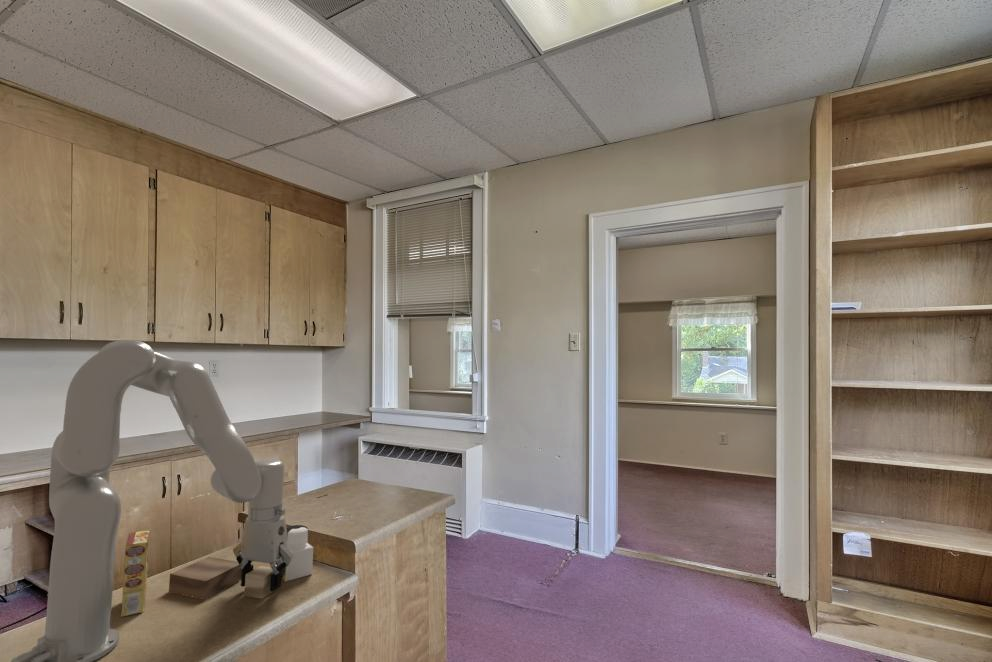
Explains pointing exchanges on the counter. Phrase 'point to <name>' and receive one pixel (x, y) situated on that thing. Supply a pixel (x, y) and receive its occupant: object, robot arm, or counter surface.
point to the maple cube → (258, 582)
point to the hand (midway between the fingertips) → (261, 586)
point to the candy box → (135, 573)
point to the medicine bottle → (298, 553)
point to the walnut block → (205, 577)
